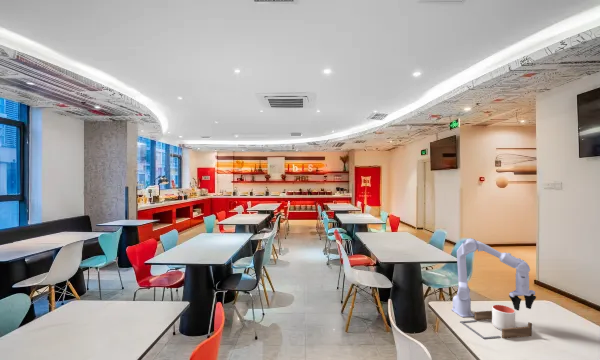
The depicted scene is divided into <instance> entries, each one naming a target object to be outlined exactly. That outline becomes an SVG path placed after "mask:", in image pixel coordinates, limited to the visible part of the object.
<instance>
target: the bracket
mask: <svg viewBox="0 0 600 360" xmlns="http://www.w3.org/2000/svg"><path fill="white" fill-rule="evenodd" d="M475 322H476V323H477V322H478V321H476V320H475V319H472V320H459V323H461V324H462V325H463V326H465V327H466V328H468V329H469V330H470V331H471V332H473V333H474V334H476V335H477V336H479V337H481V338H482V339H483V340H488V339H489V340H491V339H492V340H493V339H500V338H502V336H500V335H493V336H483V335H482V334H480V333H479V331H478V332H477V331H476V330H475V329H474V328H472V327H470V326H469V325H467V324H466V323H475Z"/></svg>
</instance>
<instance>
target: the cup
mask: <svg viewBox="0 0 600 360" xmlns="http://www.w3.org/2000/svg"><path fill="white" fill-rule="evenodd" d="M491 311H492V320H491V324H492V326H493V327H495V329H498V330H500V331H502V329H503V328H515V327H516V309H514V308H512V307H510V306H507V305H502V304H493V305H492V307H491Z"/></svg>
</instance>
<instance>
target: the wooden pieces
mask: <svg viewBox="0 0 600 360" xmlns="http://www.w3.org/2000/svg"><path fill="white" fill-rule="evenodd" d="M474 320H476V321H477V322H478V321H492V310H482V311H474ZM532 327H533V323H532V322H528V323H527V326H517V327H516V326H515V328H503V329H502V330H501V338H502V339H503V340H505V339H517V338H525V337H526V338H528V337H532V336H533V333H532V331H533V328H532Z"/></svg>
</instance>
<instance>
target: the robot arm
mask: <svg viewBox="0 0 600 360" xmlns="http://www.w3.org/2000/svg"><path fill="white" fill-rule="evenodd" d="M476 251H477V252H485V253H487V254H489V255H492V256H494V257H496V258H498V259H499V261H500V262H501V263H503V264H505V265H507V266H509V267H510V268H513V269H515V290H512V291H510V292H509V294H508V297H509V298H510V301H511V302H512V306H513V310H515V311H520V308H521V307H520V305H521V301H522V298H520V297H521V296H522V297H524V302H525V308H526V309H528V310H531V309H532V306H533V304H534V301H535V300H536V299H537V295H536V291H535V290H533V289H530V276H529V275H530V271H531V268H530V265H529V264H528V262H526V261H525V260H523V259H521V258H519V257H516V256H513V255H512V253H510V252H501V251H499V250H497V249H495V248H494V247H491V246H490V245H488V244H485V243H484V242H482V241H479V240H476V239H474V238H472V237H471V238H470V237H469V238H467V239H465V240H464V241H462V243H461V244H460V246H459V247H458V248H457V250H456V263H457V264H456V265H457V277H458V287H457V293H456V295H454V296H453V298H452V308H451V311H453V312H454V313H455V314H457V315H458V316H460V317H461V318H470V317H475V314H473V313H472V311H471V310H472V309H471V307H472V306H471V305H472V302H471V300H472V299H471V296H470V295H471V294H470V293H471V289H470V287H469V285H468V284H469V283H468V273H467V256H468V255H469V254H471V253H475V252H476Z"/></svg>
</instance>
